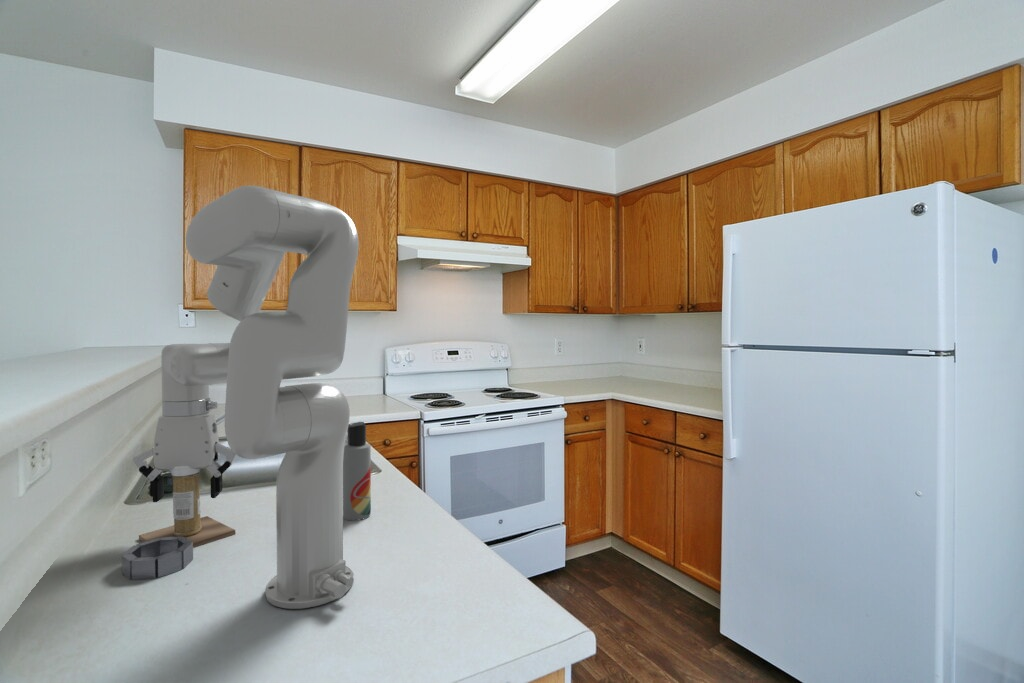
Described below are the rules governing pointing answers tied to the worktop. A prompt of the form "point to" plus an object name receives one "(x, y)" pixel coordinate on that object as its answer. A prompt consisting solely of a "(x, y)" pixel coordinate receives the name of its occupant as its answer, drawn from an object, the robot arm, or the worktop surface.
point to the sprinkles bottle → (186, 501)
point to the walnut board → (207, 533)
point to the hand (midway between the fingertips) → (187, 497)
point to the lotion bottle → (356, 473)
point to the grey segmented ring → (157, 557)
